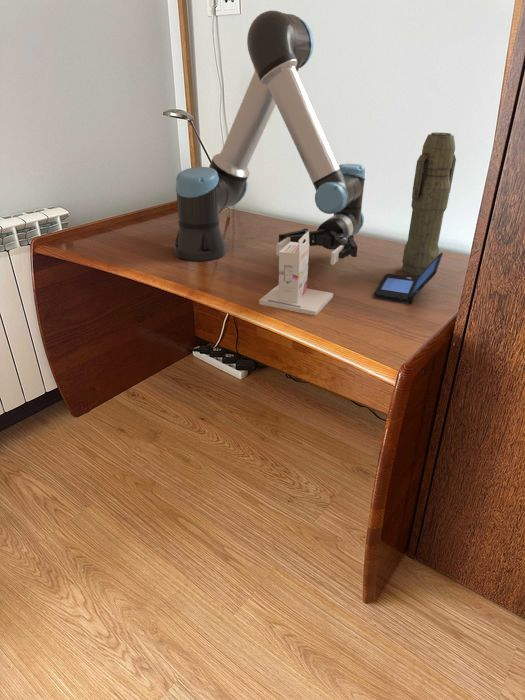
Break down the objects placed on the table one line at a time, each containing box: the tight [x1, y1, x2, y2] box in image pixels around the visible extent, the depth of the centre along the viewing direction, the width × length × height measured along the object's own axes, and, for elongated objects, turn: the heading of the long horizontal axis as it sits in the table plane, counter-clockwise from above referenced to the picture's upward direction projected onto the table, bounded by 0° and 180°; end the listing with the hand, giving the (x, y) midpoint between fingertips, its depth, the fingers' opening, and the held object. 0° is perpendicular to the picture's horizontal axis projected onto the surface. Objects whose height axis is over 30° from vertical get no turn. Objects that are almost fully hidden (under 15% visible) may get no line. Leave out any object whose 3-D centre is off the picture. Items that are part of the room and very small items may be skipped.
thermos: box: [401, 132, 457, 278], centre depth 130 cm, size 9×12×35 cm
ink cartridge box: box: [278, 231, 310, 303], centre depth 116 cm, size 9×5×15 cm, turn 161°
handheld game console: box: [373, 252, 443, 305], centre depth 123 cm, size 16×13×9 cm
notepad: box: [258, 284, 334, 316], centre depth 119 cm, size 14×12×1 cm
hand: (304, 254), depth 116 cm, fingers open, 13 cm apart
